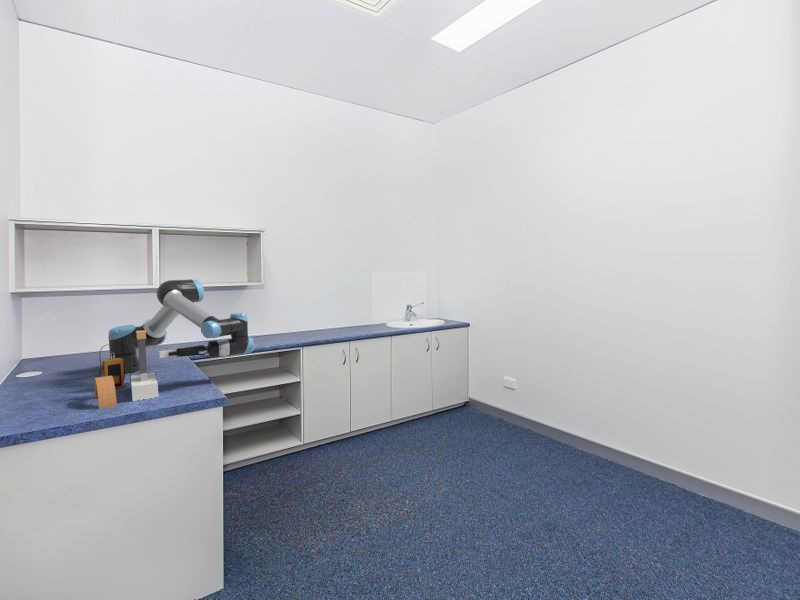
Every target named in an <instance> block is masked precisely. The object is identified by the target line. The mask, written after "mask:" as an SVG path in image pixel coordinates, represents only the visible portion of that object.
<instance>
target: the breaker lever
mask: <svg viewBox="0 0 800 600" xmlns="http://www.w3.org/2000/svg"><path fill="white" fill-rule="evenodd" d="M136 333H137V339H138V359H139V368H140V370H139V374H142V373H148V367H147V352H146V351H147V350H146V348H147V347H145V339H146V331H145V330H143V331H136Z"/></svg>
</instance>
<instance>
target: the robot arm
mask: <svg viewBox="0 0 800 600" xmlns="http://www.w3.org/2000/svg"><path fill="white" fill-rule="evenodd" d="M156 298H157V300H158V302H159V303H160V304H161V305H162V307H161V308H160V309H159V310H158V311H157V312H156V313H155V315H154V316H153V317H152V318H151V319H148V320H146V321H144V323H143V324H141V325H140V326H135V325H134V324H126V325H125V324H124V325H119V326H118V325H117V326H115V327H112V328H111V329H109V330H108V338H107V339H108V348H109V350H108V351H109V359H111V358H110V356H111V354H110V353H112V359H113V347H114V346H115V345H116V344H118V345H116V346H115V347H114V356H115V359H116V358H122V359H123V364H124V367H125V374H130V358H131V373H134V372H138V371H140V368H139V356H138V355H137V349H138V339H137V333H136V331H143V330H145V331H146V339H145V347H146V348H150V347H155V346H159V345H161V344H163V343H164V342H165V340H166V339H167V328H168V327H169V326H170V325H171V324H172V323H173V322H174V320H176V319H177V317H178V316H179V315H181V316H182V317H184V318H185V319H187V320H188V321H189V322H191V323H192V324H194V325H195V326H197V327H198V328H200V332H201V334H202V337H204V338H206V339H216V338H219V337H220V338H221V337H225V336H230V337H231V338H228V339H227V338H226V339H218V340H209V341H208V343H207V345H204V344H201V345H195V346H189V347H188V346H187V347H181V348H180V347H178V348H177V349H169V350H160V351H158V352H159V354H158V355H159V359H163V358H172V357H177V358H178V357H180V358H182V357H192V356H193V357H194V356H195V357H197V356H205V355H206V354H208V357H209V358H217V357H224V358H226V357H227V356H234V355H245V354H250V353H252V352H254V349H255V343H254V338H253V337H250V336H249V330H248V328H249V324H248V322H249V321H248V314H247V313H246V312H233V313H230V316H229V318H224V319H219V318H217V317H215V316H214V315H213V314H211V313H209V312H208V311H206V310H205V309H204V308H202V307H200V306H199V305H197V304H196V303H200V302H201V301H203V300H204V298H205V288H204V286H203V283H201V281H199V280H198V279H172V280H171V279H170V280H166V281H164V282H162V283H161V284H160V285H159V286H158V288H157V290H156ZM119 343H123V344H119ZM124 344H125V345H126V346H127V347H126V346H125V345H124ZM109 345H110V346H111V351H110V346H109ZM127 348H128V349H127ZM128 350H129V352H128ZM129 353H130V356H129Z"/></svg>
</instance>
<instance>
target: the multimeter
mask: <svg viewBox="0 0 800 600" xmlns="http://www.w3.org/2000/svg"><path fill="white" fill-rule="evenodd" d="M119 344H123V343H119ZM116 345H118V344H116ZM116 345H115V346H116ZM124 345H125V344H124ZM106 346H107V344H106V345H103V346H102V347H101V348H100V349H99V356H101V352H102V349H103V348H104V347H106ZM109 346H110V345H109V344H108V347H109ZM115 346H114V347H115ZM125 346H126V345H125ZM114 347H113V359H112V353H110V351H111V346H110V350H109V359H103V360H102V361H101V358H99V362H100V364H99V365H100V366H102V367H100V368H99V373H98V377H101V371H102V377H105V376H112V377H113V380H114V385H115V389H119V388H125V385H131V375H132V372H131V358H130V373H129V374H130V375H129V382H125V378H126V373H125V367H124V364H123V359H122V358H116V359H115V356H114ZM126 347H127V346H126ZM127 349H128V348H127ZM128 352H129V350H128ZM110 354H111V356H110ZM129 356H130V353H129ZM110 358H111V359H110Z"/></svg>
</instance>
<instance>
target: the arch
mask: <svg viewBox="0 0 800 600" xmlns="http://www.w3.org/2000/svg"><path fill="white" fill-rule="evenodd" d="M93 382H94V383H93V384H94V385H93V388H94V390H93V391H94V398H98V399H97V400H98V409H99V410H101V409H106V408H112V407H117V394H116V393H117V392H116V388H115V385H114V380H113V377H112V376H105V377H103V376H100V377H99V376H98V377H95V378H94V379H93Z"/></svg>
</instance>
